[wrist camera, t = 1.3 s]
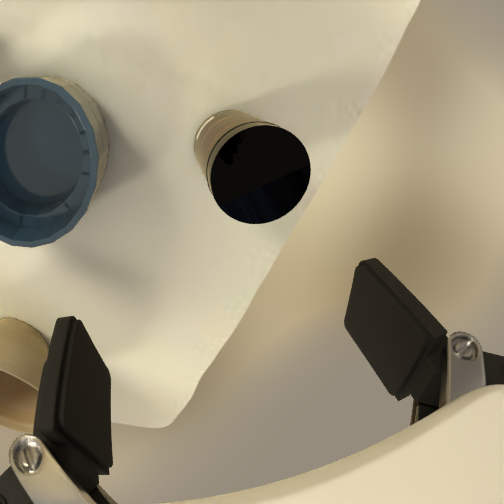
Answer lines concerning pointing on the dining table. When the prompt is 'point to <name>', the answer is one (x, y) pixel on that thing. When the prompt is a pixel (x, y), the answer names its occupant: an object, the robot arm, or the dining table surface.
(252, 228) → the dining table surface
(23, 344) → the planter bowl
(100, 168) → the basin
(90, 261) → the dining table surface
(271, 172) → the supplement container
